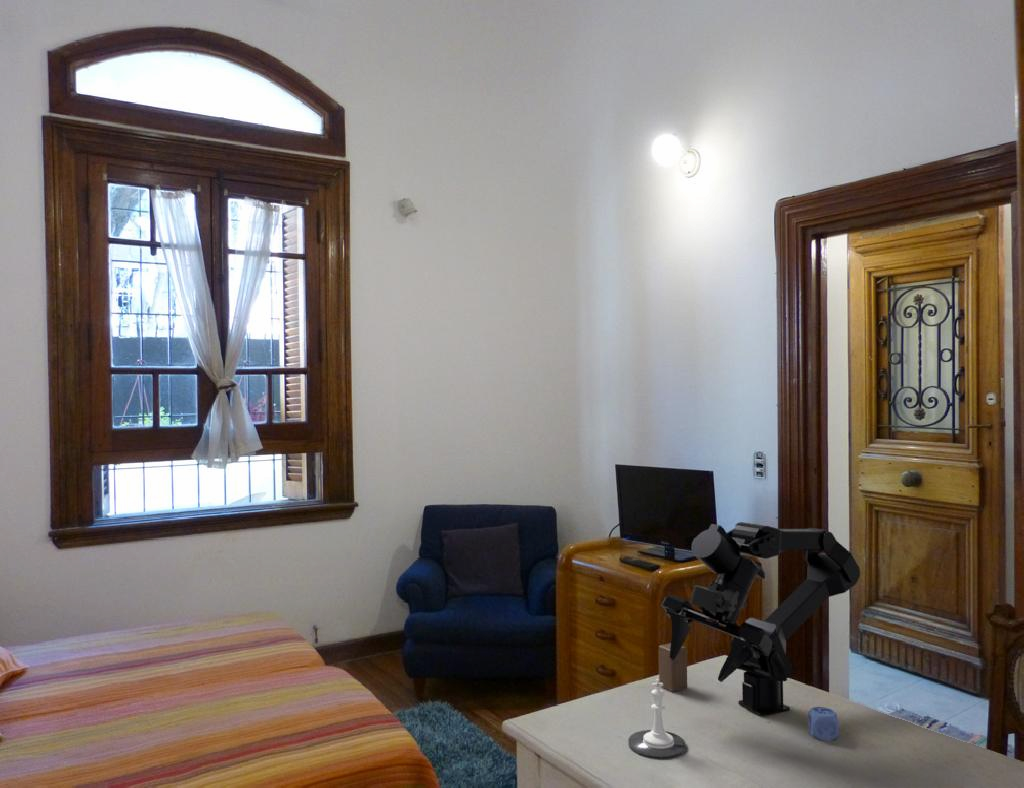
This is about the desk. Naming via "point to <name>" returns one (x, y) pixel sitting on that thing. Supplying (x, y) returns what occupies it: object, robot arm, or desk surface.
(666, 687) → the wooden block
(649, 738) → the chess piece
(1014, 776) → the desk surface
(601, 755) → the desk surface
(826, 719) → the decorative dice
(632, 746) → the carrier plate
